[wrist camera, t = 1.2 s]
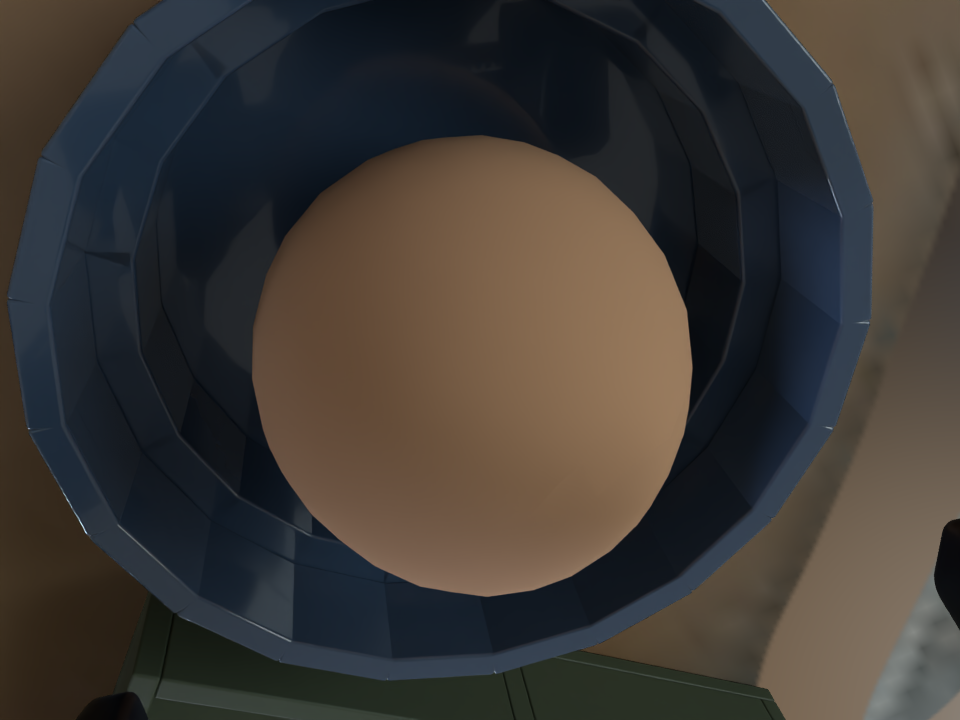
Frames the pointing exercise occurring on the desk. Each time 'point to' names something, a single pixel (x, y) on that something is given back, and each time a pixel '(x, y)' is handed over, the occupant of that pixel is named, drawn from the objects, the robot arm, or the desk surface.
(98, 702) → the robot arm
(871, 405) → the desk surface
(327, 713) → the carton
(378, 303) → the egg
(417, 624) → the bowl
